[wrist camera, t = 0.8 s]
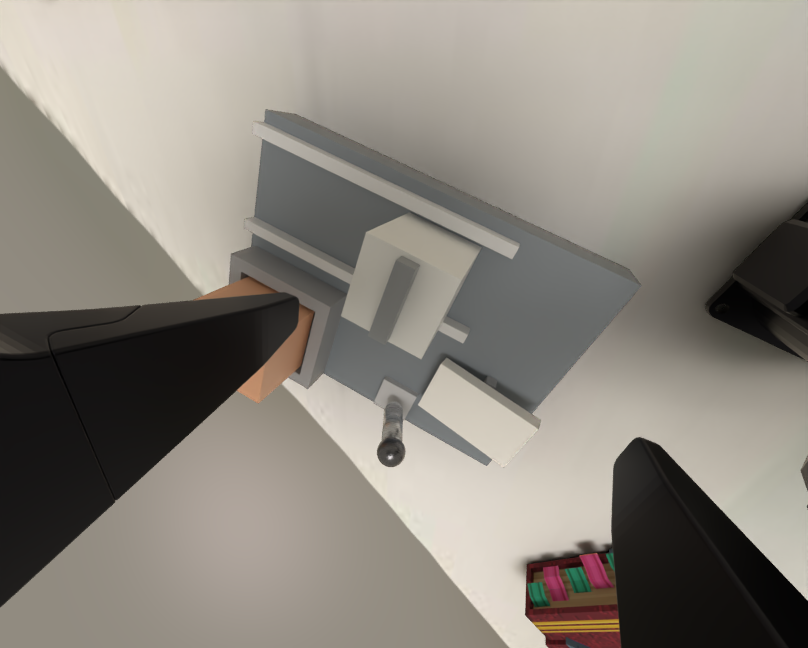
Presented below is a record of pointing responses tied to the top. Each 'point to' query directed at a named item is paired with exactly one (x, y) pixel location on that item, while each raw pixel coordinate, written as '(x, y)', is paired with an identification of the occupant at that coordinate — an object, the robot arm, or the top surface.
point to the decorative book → (574, 601)
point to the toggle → (392, 436)
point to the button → (284, 357)
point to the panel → (475, 302)
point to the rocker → (478, 412)
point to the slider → (407, 281)
